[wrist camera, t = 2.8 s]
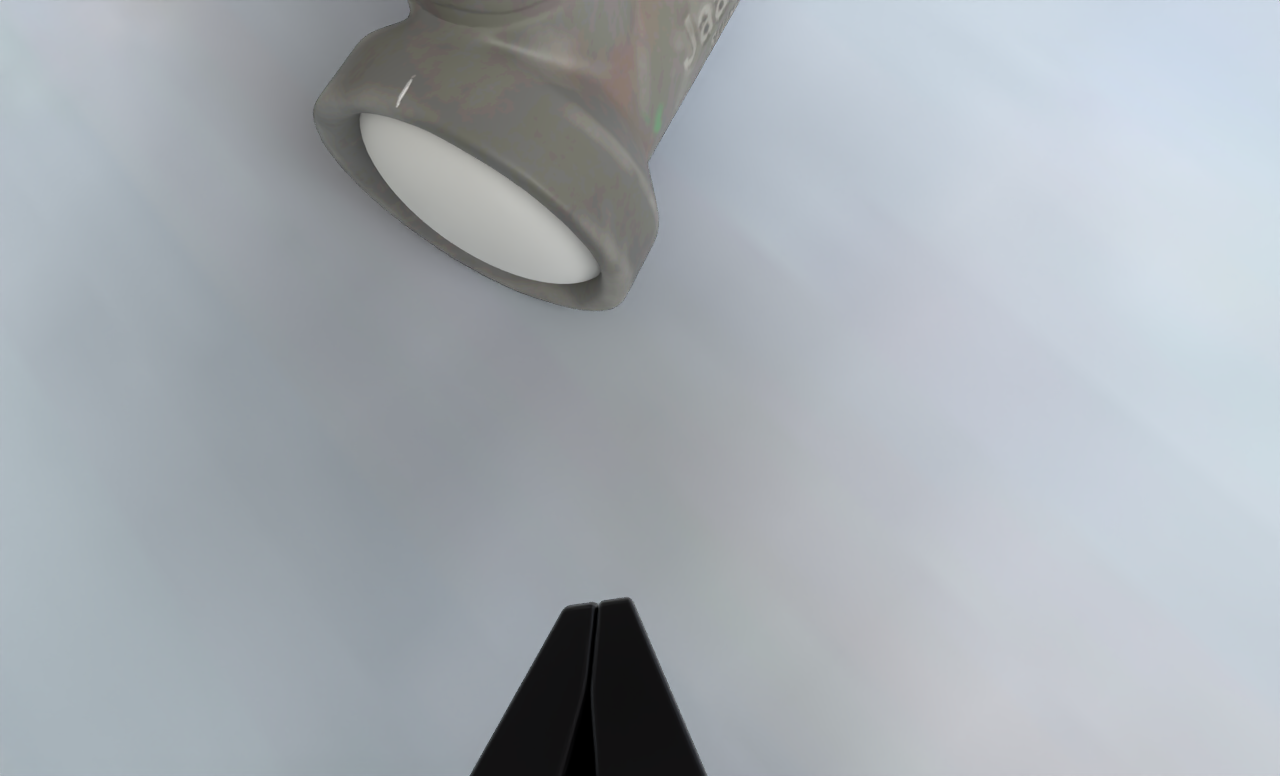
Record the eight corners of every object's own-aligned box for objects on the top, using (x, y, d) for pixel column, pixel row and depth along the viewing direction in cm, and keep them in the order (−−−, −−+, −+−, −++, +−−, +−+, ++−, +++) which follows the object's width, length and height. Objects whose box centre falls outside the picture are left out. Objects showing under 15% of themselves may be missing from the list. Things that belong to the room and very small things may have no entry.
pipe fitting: (635, 365, 21) (531, 123, 11) (398, 255, 23) (144, -25, 14) (824, 26, 24) (868, -402, 14) (595, -44, 26) (497, -457, 16)
